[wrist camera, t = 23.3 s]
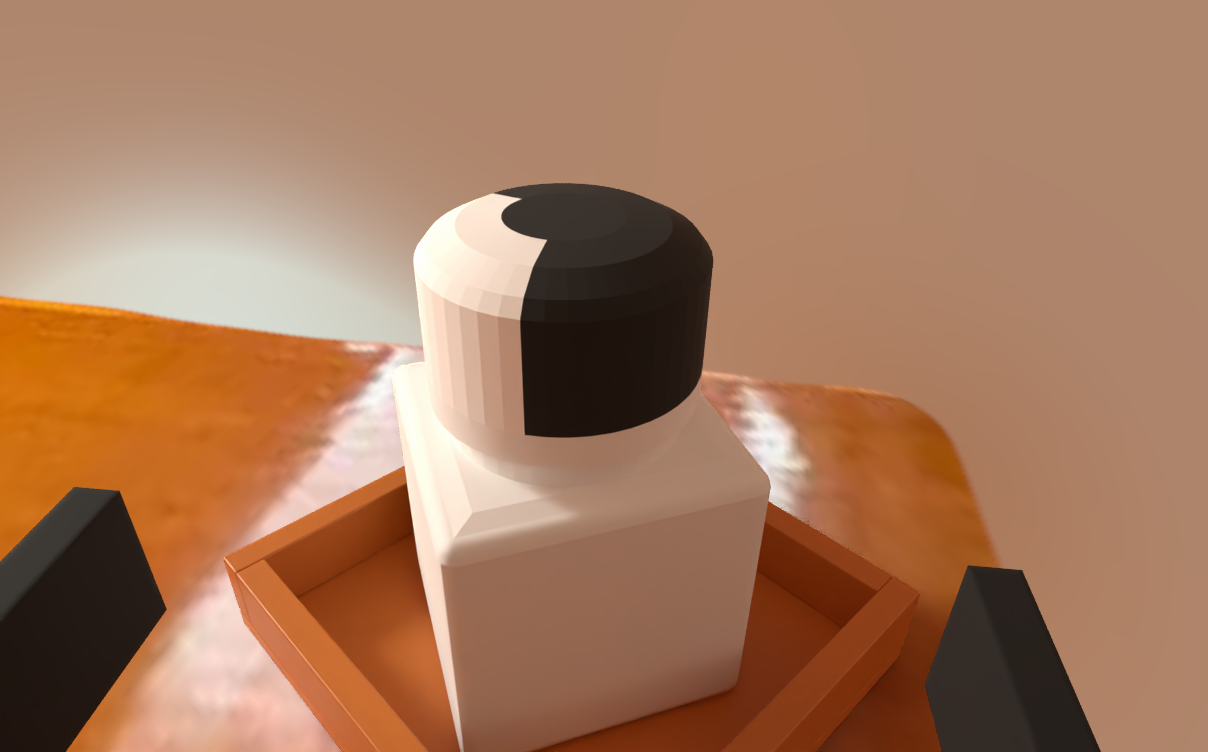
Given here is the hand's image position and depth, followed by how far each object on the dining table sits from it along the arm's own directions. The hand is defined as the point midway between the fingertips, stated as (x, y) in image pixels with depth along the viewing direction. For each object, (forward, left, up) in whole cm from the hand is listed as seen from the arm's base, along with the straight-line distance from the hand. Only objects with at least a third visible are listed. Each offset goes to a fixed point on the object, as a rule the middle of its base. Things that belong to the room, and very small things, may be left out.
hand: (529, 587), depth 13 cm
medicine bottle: (+4, -5, -8) cm, 11 cm away
